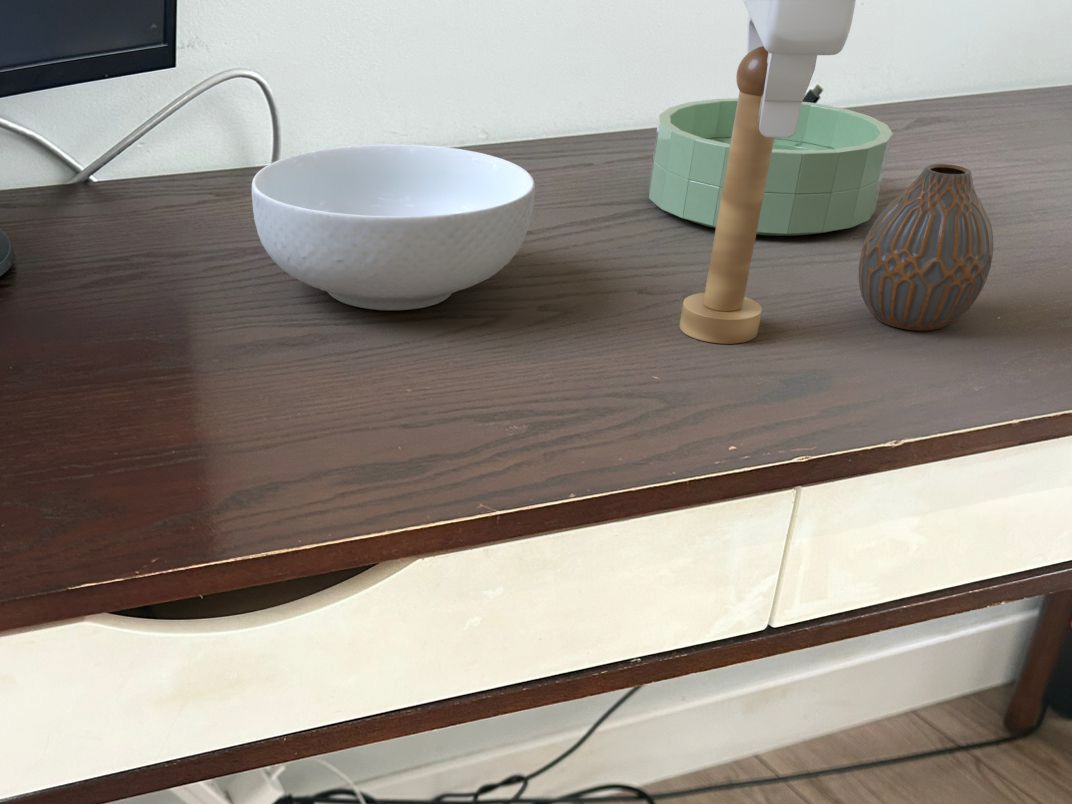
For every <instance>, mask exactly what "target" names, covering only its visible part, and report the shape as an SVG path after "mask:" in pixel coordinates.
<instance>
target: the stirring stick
mask: <svg viewBox="0 0 1072 804" xmlns="http://www.w3.org/2000/svg"><path fill="white" fill-rule="evenodd" d="M767 58H768V52H767V51H766V50H765V48H764V46H762V47H758V48H756V49H754V50H752V51H751V52H749V53H748V54H747V53H746V55H744V56H743V58H742V59H741V61H740V62H739V64H738V67H737V69H736V77H735V78H736V85H737V89H738V90H739V92H738V97H737V98H738V103H737V108H736V114H735V120H734V126H733V132H732V137H731V143H730V149H729V155H728V161H727V166H726V172H725V178H724V184H723V190H722V195H721V201H720V207H719V213H718V219H717V224H716V228H715V230H714V237H713V242H712V248H711V255H710V260H709V265H708V272H707V278H706V283H705V289H704V292H699V293H694V294H691V295H689V296H687V297H685V298H684V300H683V302H682V307H681V313H680V319H679V329H680V331H681V332H682V333H683V334H684V335H687V337H690V338H693V339H696V340H699V341H702V342H707V343H712V344H721V345H732V344H742V343H743V344H744V343H747V342H750V341H752V340H754V339H755V338H756V337H757V336H758V334H759V330H760V329H759V328H760V323H761V319H762V313H763V307H762V305H761V304H760V303H758V302H757V301H756V300H753V299H751V298H749V297H746V290H747V286H748V279H749V274H750V269H751V264H752V258H753V253H754V247H755V243H756V237H757V235H756V233H757V227H758V222H759V217H760V212H761V206H762V201H763V196H764V190H765V185H766V180H767V175H768V169H769V164H770V159H771V153H772V148H773V143H774V137H765V136H763V135H762V134H761V133H760V131H759V126H758V123H757V121H758V115H759V110H760V103H761V97H762V94H764V87H765V80H766V73H767V66H768V64H767Z"/></svg>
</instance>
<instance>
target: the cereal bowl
mask: <svg viewBox="0 0 1072 804" xmlns="http://www.w3.org/2000/svg"><path fill="white" fill-rule="evenodd" d="M535 183H536V182H535V180H534V178H533V176H532V175H531V174H530V173H529V171H527V170H526V169H525V168H523V167H522V166H520V165H518V164H516V163H514V162H511V161H509V160H507V159H504V158H500V157H497V156H494V155H491V154H486V153H482V152H479V151H478V152H477V151H474V150H473V151H472V150H469V149H462V148H456V147H455V148H454V147H447V146H446V147H445V146H439V145H425V144H403V143H402V144H401V143H382V144H380V143H377V144H375V143H374V144H361V145H360V144H358V145H346V146H338V147H337V146H336V147H329V148H321V149H316V150H315V149H314V150H311V151H306V152H302V153H297V154H294V155H290V156H287V157H284V158H280V159H278V160H275V161H273V162H271V163H269V164H268V165H266V166H263V168H261V169H260V170H259V171H258V172H256V174H255V175H254V177H253V179H252V181H251V200H252V201H251V203H252V204H251V206H252V212H253V220H254V224H255V229H256V231H257V235H258V238H259V240H260V244H261V245H262V247H263V248H264V250H265V251H266V253H267V254H268V256H269V257H270V258H271V260H272V261H273V262H274V263H275V264H276V265H277V266H278V267H279V268H280V269H282V270H283V271H284V272H285V273H287V274H288V275H289V276H290V277H292V278H294V279H296V280H298V281H299V282H301V283H304V284H306V285H307V286H311V287H313V288H314V289H319V290H321V291H324V292H326V293H327V294H328V295H329V296H331V297H332V298H333V299H335V300H336V301H338V302H341V303H342V304H345V305H348V306H351V307H356V308H361V309H366V310H373V311H375V310H376V311H408V310H418V309H424V308H428V307H431V306H435V305H437V304H440V303H442V302H444V301H445V300H447V299H448V298H449V297H450V296H452V294H453V293H456V292H458V291H462V290H466V289H468V288H471V287H473V286H475V285H478V284H480V283H483V282H484V281H486V280H489V279H490V278H491V277H492V276H495V275H496V274H498V272H499V271H501V270H503V269H504V268H505V266H506V265H508V264H509V263H510V262H511V261H512V259H513V258H514V257H515V256H516V255H517V254H518V252H519V250H520V248H521V247H522V245H523V244H524V241H525V239H526V237H527V233H528V230H529V227H530V225H531V223H532V222H531V219H532V217H533V212H534V210H533V209H534V203H535V193H536V184H535Z"/></svg>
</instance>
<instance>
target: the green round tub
mask: <svg viewBox="0 0 1072 804" xmlns="http://www.w3.org/2000/svg"><path fill="white" fill-rule="evenodd" d="M737 103H738V97H733V98H731V97H730V98H713V99H704V100H695V101H688V102H684V103H682V104H681V103H680V104H678V105H674V106H669V107H668V108H667V109H665V110H664V111H663V112H661V113H660V114H659V115H658V119H657V125H656V126H657V127H656V133H655V140H654V147H653V153H652V162H651V168H650V173H649V174H650V176H649V181H648V199H649V200H650V201H651V202H652V203H653V204H654V205H656V206H657V207H658V208H659V209H661V210H662V211H665V212H667V213H669V214H671V215H674V216H676V217H678V218H681V219H683V220H687V221H689V222H692V223H695V224H696V225H697V224H698V225H701V226H704V227H707V228H712V229H716V224H717V219H718V213H719V207H720V201H721V195H722V190H723V184H724V178H725V172H726V166H727V161H728V155H729V149H730V143H731V137H732V132H733V126H734V120H735V114H736V108H737ZM893 136H894V133H893V132H892V130H891V129H890V126H889V125H888V124H886V123H884V122H883V121H880V120H879V119H876V118H875V117H872V116H870V115H867V114H864V113H861V112H857V111H854V110H851V109H848V108H842V107H837V106H833V105H826V104H821V103H817V102H809V101H802V105H801V111H800V116H799V121H798V127H797V130H796V132H795V134H794V135H792V136H791V137H788V138H774V143H773V148H772V153H771V159H770V164H769V169H768V175H767V180H766V185H765V190H764V196H763V201H762V206H761V212H760V217H759V222H758V227H757V233H756V236H770V237H771V236H774V237H783V236H784V237H792V236H793V237H794V236H809V235H816V234H823V233H828V232H833V231H841V230H845V229H852V228H854V227H856V226H858V225H861V224H863V223H866V222H869V220H870V219H871V218H872V216H873V215H874V213H875V212H876V208H877V204H878V200H879V196H880V192H881V187H882V184H883V179H884V175H885V174H884V173H885V171H886V166H887V162H888V157H889V153H890V149H891V145H892V140H893Z"/></svg>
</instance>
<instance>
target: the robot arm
mask: <svg viewBox="0 0 1072 804" xmlns="http://www.w3.org/2000/svg"><path fill="white" fill-rule="evenodd" d="M856 1H857V0H742V2H743V3H744V7H745V8H746V10H747V12H748V16H747V33H746V55H747V54H748V53H749V52H751V51H752V50H754V49H756V48H758V47H762V46H764V48H765V50H766V51H767V52H768V58H767V64H768V66H767V73H766V80H765V87H764V94H762V97H761V103H760V110H759V115H758V121H757V123H758V126H759V131H760V133H761V134H762V135H763V136H765V137H774V138H788V137H791V136H792V135H794V134H795V132H796V130H797V127H798V121H799V116H800V111H801V105H802V102H804V99H805V96H806V93H807V91H808V88H809V86H810V83H811V80H812V78H813V75H814V72H815V70H816V66H817V65H816V64H817V59H818V56H835V55H837V54H840V53H841V52H842V50H843V49H844V47H845V45H846V42H847V40H848V37H849V34H850V32H851V27H852V25H853V24H852V23H853V20H854V13H855V7H856Z"/></svg>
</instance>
